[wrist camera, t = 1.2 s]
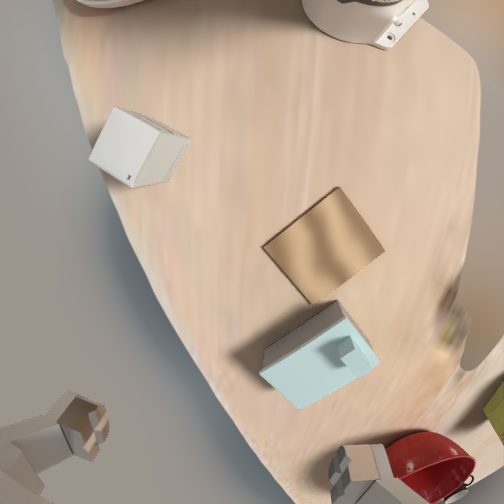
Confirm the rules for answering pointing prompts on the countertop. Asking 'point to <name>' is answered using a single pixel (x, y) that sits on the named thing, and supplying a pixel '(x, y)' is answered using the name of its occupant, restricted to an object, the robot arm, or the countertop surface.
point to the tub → (308, 332)
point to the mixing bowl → (430, 464)
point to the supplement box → (138, 149)
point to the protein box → (496, 411)
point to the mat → (325, 247)
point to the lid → (321, 364)
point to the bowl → (108, 3)
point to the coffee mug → (457, 493)
